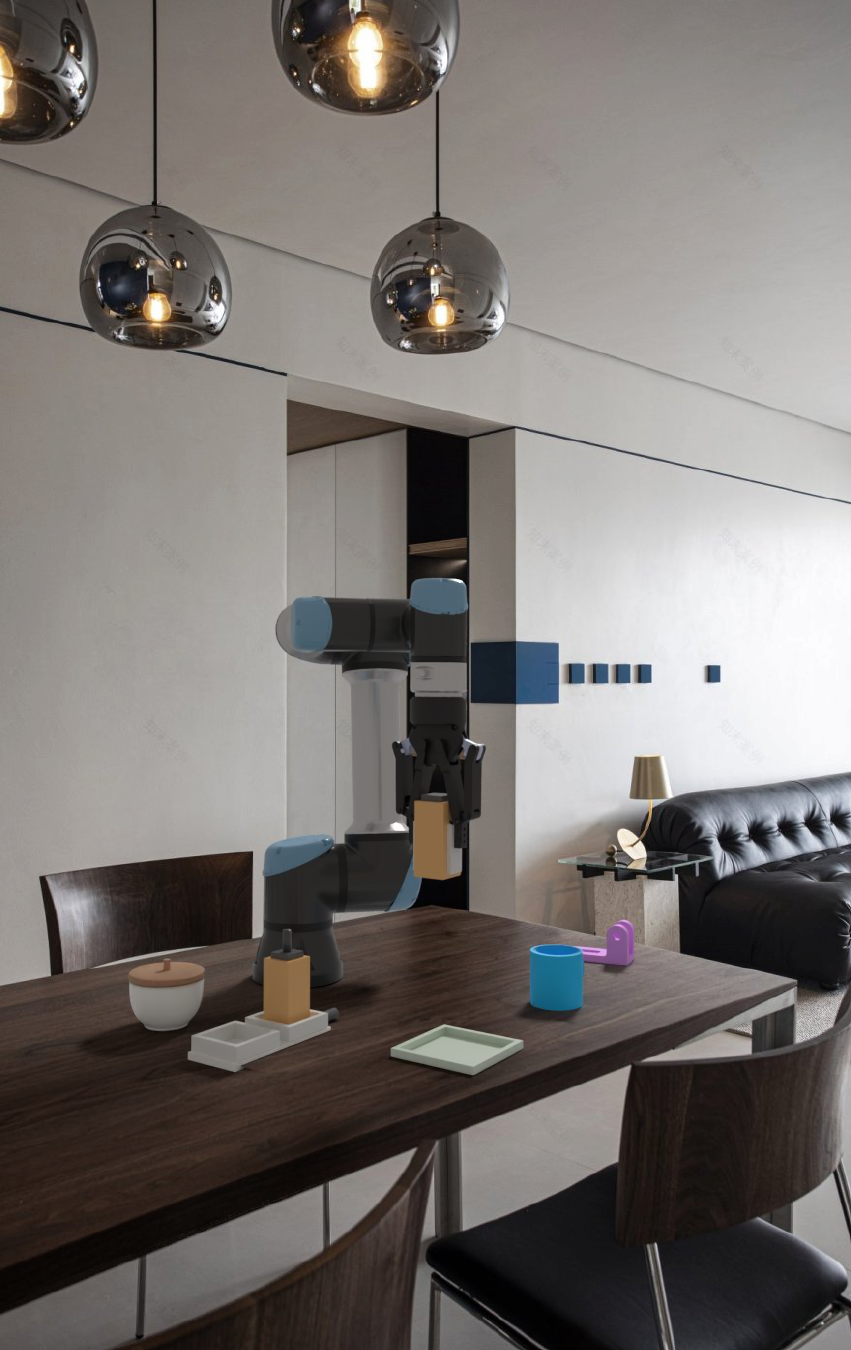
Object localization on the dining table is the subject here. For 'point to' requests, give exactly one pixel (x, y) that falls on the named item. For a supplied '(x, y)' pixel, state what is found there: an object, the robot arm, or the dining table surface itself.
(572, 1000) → the mug
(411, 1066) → the dining table surface
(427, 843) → the orange capped pillar
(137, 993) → the lidded jar
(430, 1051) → the tray
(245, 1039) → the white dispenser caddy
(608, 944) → the bracket
